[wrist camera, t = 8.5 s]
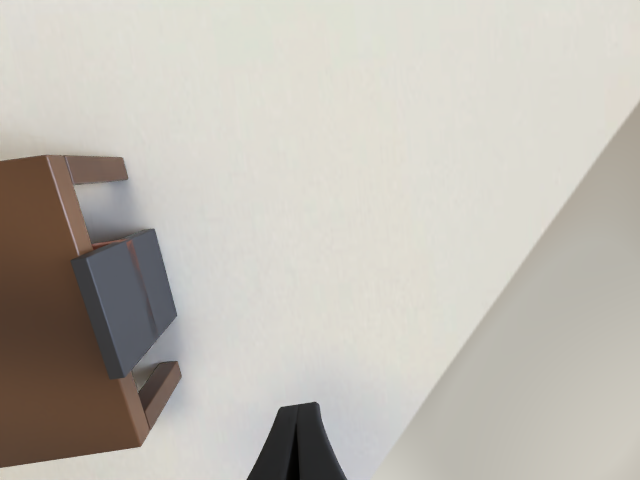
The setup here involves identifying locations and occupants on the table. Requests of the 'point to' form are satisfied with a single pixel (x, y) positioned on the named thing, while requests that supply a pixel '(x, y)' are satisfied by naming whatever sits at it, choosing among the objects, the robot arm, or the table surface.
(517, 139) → the table surface
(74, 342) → the desk
